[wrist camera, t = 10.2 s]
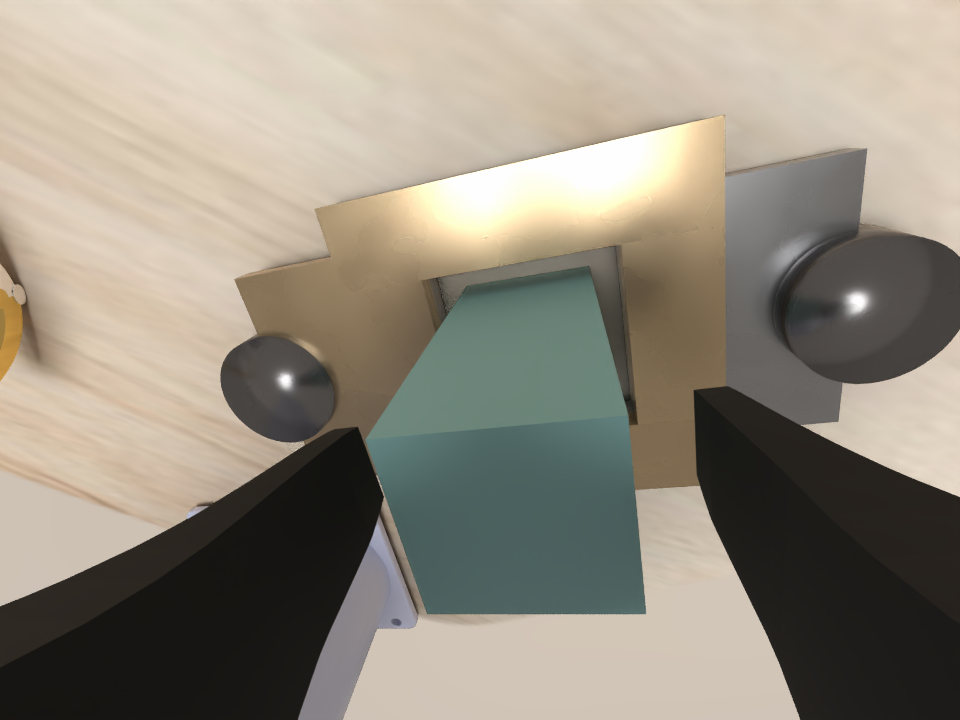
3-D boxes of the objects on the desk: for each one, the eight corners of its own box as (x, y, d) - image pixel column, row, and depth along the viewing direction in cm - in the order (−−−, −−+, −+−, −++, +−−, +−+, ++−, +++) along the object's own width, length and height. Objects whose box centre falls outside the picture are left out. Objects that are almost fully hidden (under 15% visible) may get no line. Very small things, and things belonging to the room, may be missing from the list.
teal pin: (489, 390, 17) (427, 614, 9) (466, 286, 15) (365, 439, 7) (601, 378, 16) (646, 614, 8) (588, 266, 14) (627, 415, 6)
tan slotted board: (308, 486, 20) (283, 519, 18) (196, 235, 16) (151, 246, 14) (711, 454, 16) (730, 492, 15) (704, 119, 12) (730, 114, 11)
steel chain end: (425, 477, 19) (411, 511, 17) (338, 203, 15) (308, 210, 13) (889, 440, 15) (933, 479, 13) (949, 62, 11) (1025, 46, 9)
